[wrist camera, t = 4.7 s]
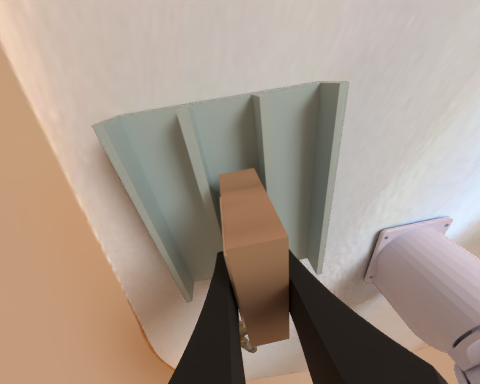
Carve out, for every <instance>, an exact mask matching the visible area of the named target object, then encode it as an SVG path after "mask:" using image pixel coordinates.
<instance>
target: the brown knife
mask: <svg viewBox="0 0 480 384" xmlns="http://www.w3.org/2000/svg"><path fill="white" fill-rule="evenodd" d="M239 331H240V344H241V346H242V347H243V348H244V349H245V350H247V351H249V352H251V353H254V352H256V351H257V346H255V347H251V345H250V342H249V341H248V339H246V338H245V337H244V336H245V335H247V330H246V327H245V328H244V327H243V323H242V321H239Z"/></svg>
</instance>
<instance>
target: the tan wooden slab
mask: <svg viewBox="0 0 480 384" xmlns="http://www.w3.org/2000/svg"><path fill="white" fill-rule="evenodd" d="M219 183H220V194H221V197H219V198H220V211H221V224H222V238H223V251H224V258H225V262H226V266H227V269H228V273H229V276H230V280H231V284H232V287H233V291H234V295H235V298H236V302H237V305H238V309H239V313H240V316H241V320H242V323H243V327H244V328H245V327H246V330H247V334H248V337H249V341H250V345H251V347H255V346H259V345H264V344H268V343H272V342H277V341H281V340H286V339H289V237H288V235H287V233H286V231H285V229H284V227H283V225H282V223H281V221H280V219H279V217H278V215H277V213H276V211H275V209H274V207H273V205H272V203H271V201H270V199H269V197H268V195H267V193H266V191H265V189H264V187H263V185H262V183H261V181H260V179H259V177H258V175H257V173H256V171H255V169H254V168H251V169H245V170H240V171H235V172H229V173H224V174H219Z"/></svg>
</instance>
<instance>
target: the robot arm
mask: <svg viewBox="0 0 480 384" xmlns="http://www.w3.org/2000/svg"><path fill="white" fill-rule="evenodd" d="M452 221H453V219H452V218H450V217H442V218H437V219H432V220H427V221H423V222H418V223H413V224H408V225H403V226H398V227H393V228H389V229H384V230H383V231H381V233H380V235H379V238H378V241H377V244H376V247H375V250H374V253H373V256H372V259H371V261H370V264H369V267H368V270H367V273H366V276H365V279H364V281H365V283H366V284H370V283H374V285H375V286H376V287H377V288H378V290H379V291H380V292H381V293H382V295H383V296H384V297H385V298H386V300H387V301H388V302H389V303H390V305H391V306H392V307H393V308H394V310H395V311H396V312H397V313H398V315H399V316H400V317H401V318H402V320H403V321H404V322H405V323H406V325H407V326H408V327H409V328H410V329H411V330H412V332H413V333H414V334H415V335H417V336H418V337H419V338H420V339H421V340H423V341H424V342H425V343H427V344H428V345H430V346H432V347H434V348H435V349H437V350H440V351H442V352H445V353H448V355H449V356H450V357H451V358H452V359H453V360H454V361H455V365H454V370H455V375H456V377H457V380H458V383H459V384H480V259H479V258H478V257H476V256H475V255H473V254H472V253H470V252H469V251H467V250H466V249H464V248H463V247H461V246H460V245H458V244H457V243H455V242H454V241H452V240H451V239H449V238H448V237H446V236H444V234H445V233H446V231H447V229H448V228H449V226H450V224H451V223H452ZM289 312H290V315H291V317H292V320H293V322H294V325H295V327H296V330H297V333H298V336H299V339H300V343H301V346H302V349H303V352H304V355H305V359H306V362H307V365H308V368H309V372H310V375H311V378H312V381H313V384H448V383H447V382H446V380H445V379H444V378H443V377H442V376H441V375H440V374H439V373H438V372H437V371H436V369H435V368H434V367H433V366H432V365H430V364H429V363H427V362H426V361H424V360H423V359H421V358H419V357H418V356H416V355H415V354H413V353H412V352H410V351H409V350H407V349H406V348H404V347H403V346H401V345H400V344H398V343H397V342H395V341H394V340H392V339H391V338H390V337H388V336H387V335H385V334H384V333H382V332H381V331H380V330H378V329H377V328H375V327H374V326H373V325H371V324H370V323H369V322H367V321H366V320H365V319H363V318H362V317H361V316H359V315H358V314H357V313H355V312H354V311H353V310H352V309H350V308H349V307H348V306H347V305H346V304H344V303H343V302H342V301H341V300H340V299H338V298H337V297H336V296H335V295H334V294H333V293H331V292H330V291H329V290H328V289H327V288H326V287H325V286H324V285H323V284H322V283H321V282H320V281H318V280H317V279H316V278H315V277H314V276H313V275H312V274H311V273H310V272H309V271H308V269H307V268H306V267H305V266H304V265H303V264H302V263H301V262H300V261H299V260H298V259H297V258H296V256H295V255H294V254H293V253H292V252H291V250H290V249H289ZM168 384H246V383H245V375H244V367H243V360H242V352H241V344H240V331H239V312H238V305H237V302H236V298H235V295H234V291H233V287H232V284H231V280H230V276H229V273H228V269H227V266H226V262H225V258H224V251H220V252H218V253H217V258H216V263H215V268H214V272H213V276H212V280H211V284H210V287H209V290H208V294H207V297H206V300H205V302H204V305H203V308H202V311H201V314H200V316H199V319H198V321H197V324H196V326H195V329H194V331H193V333H192V336H191V338H190V340H189V342H188V345H187V347H186V349H185V351H184V353H183V355H182V357H181V359H180V361H179V363H178V365H177V367H176V369H175V371H174V373H173V375H172V377H171V379H170V381H169V383H168Z"/></svg>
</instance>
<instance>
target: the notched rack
mask: <svg viewBox="0 0 480 384" xmlns="http://www.w3.org/2000/svg"><path fill="white" fill-rule="evenodd" d="M348 88H349V82H347V81H319V82H313V83H307V84H301V85H296V86H290V87H284V88H278V89H272V90H266V91H260V92H254V93H248V94H242V95H237V96H231V97H225V98H219V99H213V100H207V101H201V102H195V103H189V104H183V105H178V106H172V107H166V108H160V109H154V110H148V111H142V112H136V113H130V114H124V115H119V116H115V117H113V118H110V119H108V120H105V121H102V122H100V123H97V124H94V125H92V128H93V130H94V131H95V133H96V135H97V137H98V139H99V141H100V143H101V144H102V146H103V148H104V150H105V152H106V154H107V155H108V157H109V159H110V161H111V163H112V165H113V167H114V168H115V170H116V172H117V174H118V176H119V178H120V180H121V181H122V183H123V185H124V187H125V189H126V191H127V193H128V194H129V196H130V198H131V200H132V202H133V204H134V206H135V207H136V209H137V211H138V213H139V215H140V217H141V219H142V220H143V222H144V224H145V226H146V228H147V230H148V232H149V233H150V235H151V237H152V239H153V241H154V243H155V245H156V246H157V248H158V250H159V252H160V254H161V256H162V258H163V259H164V261H165V263H166V265H167V267H168V269H169V270H170V272H171V274H172V276H173V278H174V280H175V282H176V283H177V285H178V287H179V289H180V291H181V293H182V295H183V296H184V298H185V300H186V302H191V301H192V297H193V285H194V282H195V281H199V280H204V279H209V278H212V276H213V272H214V268H215V263H216V258H217V253H218V252H220V251H223V238H222V224H221V211H220V198H219V197H221V194H220V183H219V174H224V173H229V172H235V171H240V170H245V169H251V168H254V169H255V171H256V173H257V175H258V177H259V179H260V181H261V183H262V185H263V187H264V189H265V191H266V193H267V195H268V197H269V199H270V201H271V203H272V205H273V207H274V209H275V211H276V213H277V215H278V217H279V219H280V221H281V223H282V225H283V227H284V229H285V231H286V233H287V235H288V237H289V249H290V250H291V252H292V253H293V254H294V255H295V256H296V258H297V259H298V260H300V259H304V258H308V260H309V262H310V264H311V265H312V267H313V269H314V271H315V273H316V275H318V274H322V268H323V261H324V254H325V247H326V240H327V233H328V226H329V219H330V212H331V206H332V199H333V192H334V185H335V178H336V171H337V164H338V157H339V150H340V143H341V136H342V129H343V123H344V116H345V109H346V102H347V95H348Z"/></svg>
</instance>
